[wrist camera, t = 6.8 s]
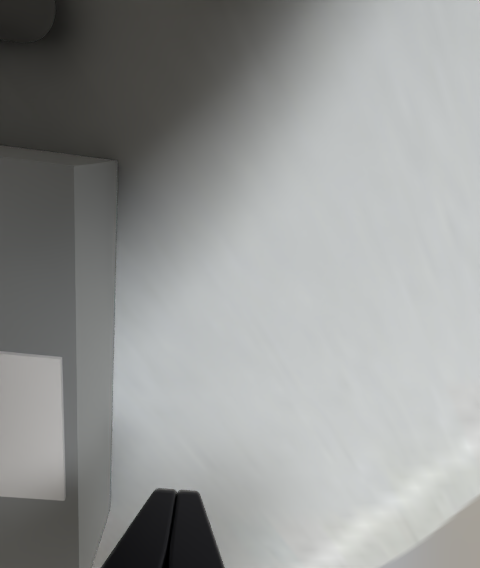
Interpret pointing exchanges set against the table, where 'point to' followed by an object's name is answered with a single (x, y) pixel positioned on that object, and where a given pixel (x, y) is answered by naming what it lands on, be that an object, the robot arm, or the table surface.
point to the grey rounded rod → (26, 19)
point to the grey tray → (55, 355)
